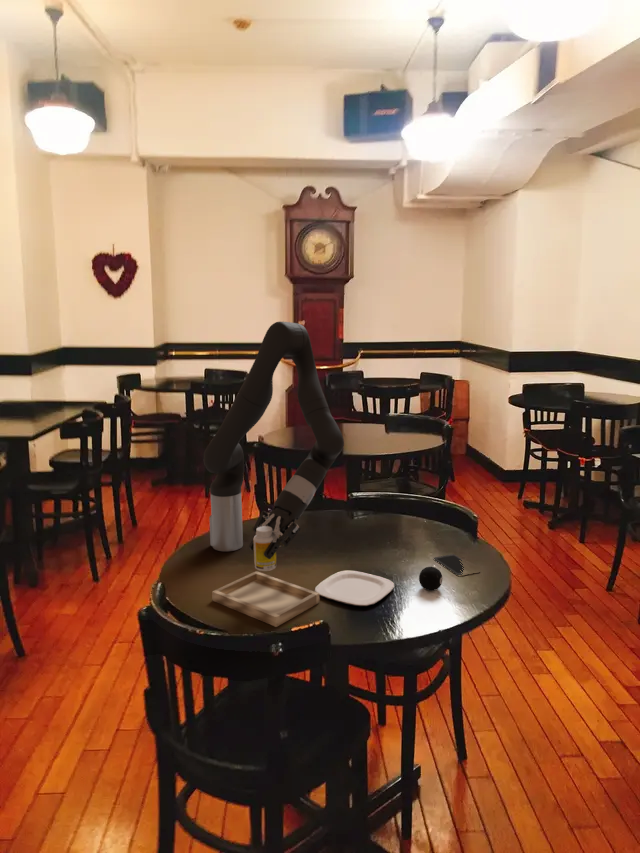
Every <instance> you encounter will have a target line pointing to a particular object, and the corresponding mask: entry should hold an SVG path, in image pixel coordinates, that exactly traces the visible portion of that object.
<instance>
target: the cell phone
mask: <svg viewBox="0 0 640 853" xmlns="http://www.w3.org/2000/svg"><path fill="white" fill-rule="evenodd" d="M433 558H434V559H435V560H436V561H437V562H436V561H435V560H434V559H433V560H434V561H435V562H436V563H438V562H439V563H440V564H439V563H438V564H439V565H441V564H442V565H443V566H442V565H441V566H442V567H444V566H445V567H446V568H447V570H448V569H449V570H451V571H452V572H454V573H455V574H457V575H462V574H463V573H462V572H463V570H464V569H463V568H464V567H463V566H462V565H463V564H462V563H461V562H460V561H459V560H461V559H462V558H461V557H460V558H459V556H458V555H456V554H453V553H452V554H446V555H440V556H435V557H433ZM461 561H462V560H461ZM460 563H461V564H462V565H461V564H460ZM445 567H444V568H445ZM462 567H463V568H462ZM446 568H445V569H446ZM462 569H463V570H462ZM449 570H448V571H449ZM460 570H461V571H462V572H461V571H460ZM451 571H450V572H451ZM452 572H451V573H452ZM454 573H453V574H454ZM461 573H462V574H461ZM455 574H454V575H455ZM457 575H456V576H457Z"/></svg>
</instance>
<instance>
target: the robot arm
mask: <svg viewBox="0 0 640 853" xmlns="http://www.w3.org/2000/svg"><path fill="white" fill-rule="evenodd" d="M308 332H309V331H308V330H307V329H306V327H305V326H304V325H303V324H300V323H298V322H290V321H276V322H273V324H271V325H270V326H269V327H268V329H267V330H266V332H265V335H264V337H263V339H262V342H261V345H260V346H259V348H258V352H257V355H256V357H255V360H254V361H253V364H252V366H251V368H250V370H249V371H248V373H247V376H246V378H245V380H244V381H243V383H242V385H241V387H240V389H239V390H238V392H237V394H236V396H235V398H234V400H233V403H232V405H231V406H230V408H229V410H228V412H227V413H226V414H225V415H226V416H225V417H224V419H223V422H222V423H221V425H220V427H219V428H218V430H217V432H216V433H215V434H214V436H213V437H212V439H211V441H209V443H208V444H207V446H206V448H205V449H204V452H203V464H204V467H205V469H206V470H207V471H208V472H209V473H212V474H216V476H215V479H213V481H211V483H210V488H209V491H210V506H211V507H210V508H211V509H210V510H211V511H210V512H211V513H210V515H209V518H208V519H209V539H210V542H209V543H210V546H211V547H212V548H213V550H215V551H217V552H218V551H219V552H233V551H237V550H239V549H241V548H243V545H244V540H243V538H244V537H243V534H244V533H243V510H242V509H243V506H242V505H243V504H242V486H243V483H244V480H245V479H244V476H245V475H244V473H245V471H244V470H245V468H244V467H245V458H244V457H245V456H244V450H243V447H242V446H241V444H240V441H241V440H242V439H243V438H244V436H246V434H248V433H249V431H251V430H252V428H253V427H254V426H256V424H257V423H258V422H259V421H260V420H261V419H262V417H263V416H264V414H265V412H266V410H267V409H268V406H269V405H270V403H271V401H272V399H273V394H274V393H273V391H274V385H273V384H274V383H273V381H274V380H273V378H274V373H275V372H276V369H277V367H278V365H279V364H280V361H281V360H282V359H283V357H290V358H291V359H292V361H293V363H294V366H295V367H296V372H297V377H298V378H297V380H298V381H297V399H298V400H297V401H298V404H299V407H300V410H301V412H302V415H303V417H304V420H305V422H306V424H307V425H308V427H310V428H311V430H312V432H313V435H314V437H315V440H316V441H315V442H314V444H313V446H312V448H311V449H310V451H309V453H308V454H307V456H306V458H305V459H304V460H303V461H302V462H301V464H300V465H299V466H298V468H297V469H296V471H295V472H294V474H293V475H292V477H291V478H290V479H289V480H288V482H287V483H286V485H285V486H284V487H283V489H282V491H281V492H280V493H279V495H278V496H277V498H276V500H275V501H274V502H273V506H274V507H273V509H272V510H271V511H270V512H267V511H265V510H262V511H261V512H260V515H259V516H258V518H257V521H256V522H255V524H254V526H253V529H252V531H253V532H254V534H256V529H257V528H258V527H262V526H269V527H271V528H272V532H273V535H274V538H273V542H271V543H270V544H269V546H268V548H267V549H266V551H265V552H264V556H265V557H266V558H268V559H271V557H273V555H274V554H275V552H276V553H277V551H278V550H279V548H280V547H285V548H286V547H288V546H289V544H291V542H292V541H293V540H294V538H295V537H296V536H297V535H298V533H299V532H300V531H301V527H300V526H299V525H298V524H297V523H296V522H295V521H298V520H300V518H301V516H302V515H303V514H304V512H305V511H306V509H307V508H308V506H309V504H310V503H311V501H312V500H313V498H314V495H315V494H316V491H317V490H318V489H319V487H320V485H321V484H322V482H323V480H324V478H325V477H326V475H327V472H328V470H329V469H330V468H331V467H332V465H333V463H335V461H336V459H337V458H338V456H339V455H340V454H341V452H342V450H343V449H344V446H345V440H344V437H343V433H342V431H341V429H340V427H339V425H338V424H337V422H336V421H335V420H336V419H334V416H332V413H331V410H330V408H329V405H328V401H327V399H326V397H325V394H324V391H323V388H322V385H321V382H320V379H319V375H318V371H317V366H316V362H315V356H314V352H313V348H312V343H311V339H310V335H309V333H308ZM248 549H249V550H250V551H252V552H254V544H253V539H252V541H251V542H250V544H249V546H248Z"/></svg>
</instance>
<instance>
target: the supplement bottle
mask: <svg viewBox="0 0 640 853" xmlns="http://www.w3.org/2000/svg"><path fill="white" fill-rule="evenodd" d="M273 538H274V532H272V528H271V527H269V526H262V527H261V526H259V527H258V528H257V529H256V533H255V535H254V537H253V539H252V540H253V544H254V551H253V561H254V562H253V563H254V564H253V565H254V568H255V570H256V571H258V572H269V571H273V570H275V569H276V568H277V562H278V561H277V551H276V552H275V554H274V555H273V557H271V559H268V558H266V557H265V556H264V552H265V551H266V549H267V548H268V546H269V544H270V543H271V542H273Z"/></svg>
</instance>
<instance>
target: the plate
mask: <svg viewBox="0 0 640 853" xmlns="http://www.w3.org/2000/svg"><path fill="white" fill-rule="evenodd" d="M314 588H315V589H314V592H317V593H319V597H322V598H325V599H328V600H332V601H334V602H339V603H341V604H345V605H351V606H355V607H369V606H371V605H375V604H376V603H378V602H380V601H381V600H383V599H384V598H385V597H387V595H389V594H390V593H391V592H392V591H393V590H394V588H395V583H394V582H393V581H392V580H390V579H388V578H385V577H382V576H379V575H375V574H370V573H366V572H362V571H359V570H358V571H357V570H347V569H346V570H341V571H338V572H335V573H334V574H331V575H330V576H328V577H327V578H324V580H322V581H320V583H318V584H317V585H316V586H315V587H314Z"/></svg>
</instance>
